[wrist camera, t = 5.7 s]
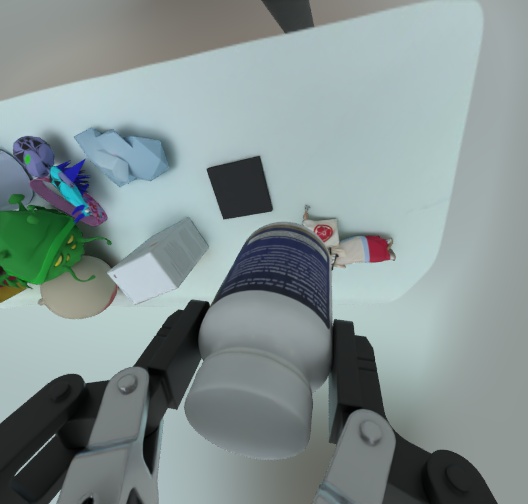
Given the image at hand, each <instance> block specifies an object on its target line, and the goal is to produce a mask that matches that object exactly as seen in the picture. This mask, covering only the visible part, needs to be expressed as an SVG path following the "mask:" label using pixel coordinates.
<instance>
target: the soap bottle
mask: <svg viewBox="0 0 528 504" xmlns="http://www.w3.org/2000/svg"><path fill="white" fill-rule="evenodd" d="M29 182H30V179H29V177H28V175H27V174H26V172H25V170H24V169H23V167H22V166H21V165H20V164H19V163H18V162H17V161H16V160H15V159H14V158H13V157H11V156H10V155H8V154H7V153H5V152H4V151H1V150H0V211H12V210H15V209H18V208H19V204H18V203H17V204H10V203H9V202H8V200H9V198H10V197H11V195H12V194H22V195H24V196H25V198H24V200H22V201H21V202H22V204H23V205H24V206H25V205H27V204H28V203H29V202H30V201H31V199H32V196H33V189H32V188H31V187H30V185H29Z"/></svg>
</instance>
